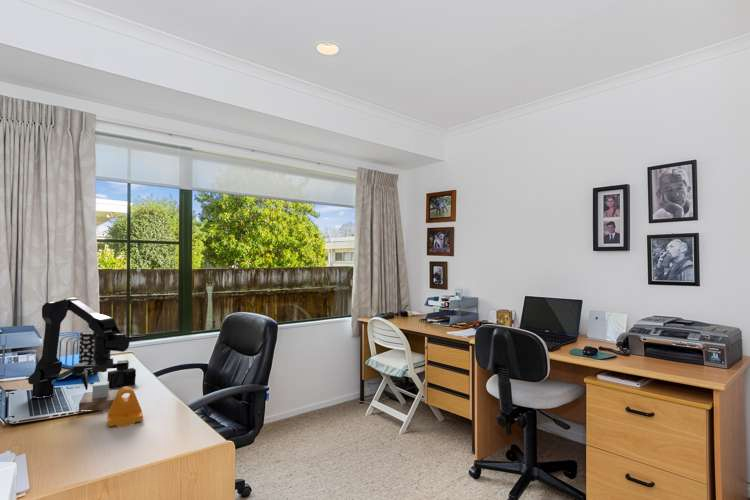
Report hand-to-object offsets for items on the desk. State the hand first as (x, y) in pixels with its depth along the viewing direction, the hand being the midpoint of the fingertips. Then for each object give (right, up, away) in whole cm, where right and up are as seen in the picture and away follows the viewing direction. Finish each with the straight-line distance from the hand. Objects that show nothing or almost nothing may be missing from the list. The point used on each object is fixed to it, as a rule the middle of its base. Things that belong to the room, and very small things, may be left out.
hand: (100, 388), depth 169 cm
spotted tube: (-33, -6, +41) cm, 53 cm away
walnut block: (0, -7, 0) cm, 7 cm away
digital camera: (-6, -7, +24) cm, 25 cm away
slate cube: (0, -3, 0) cm, 3 cm away
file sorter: (-52, -6, +59) cm, 79 cm away
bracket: (+19, -7, -16) cm, 26 cm away
